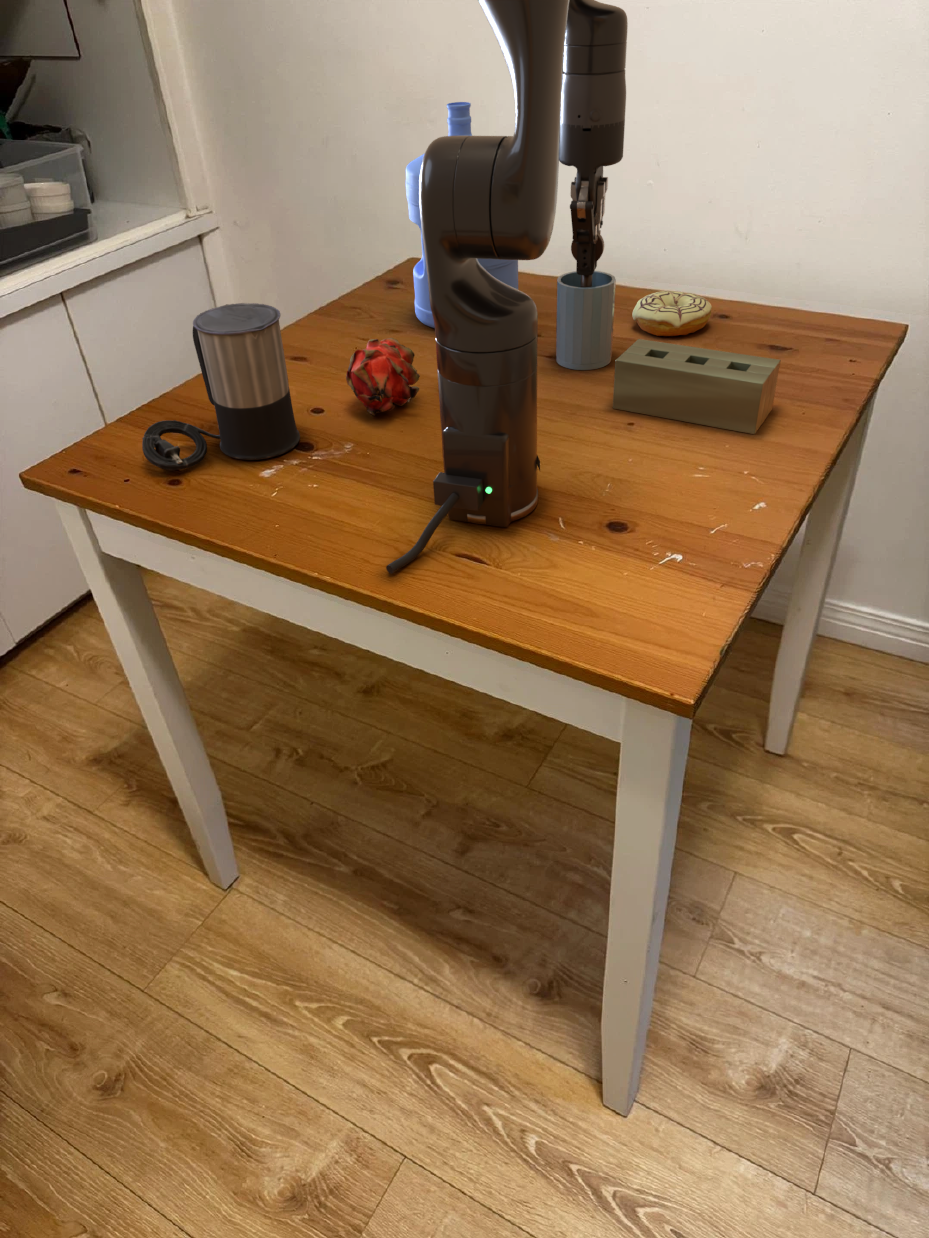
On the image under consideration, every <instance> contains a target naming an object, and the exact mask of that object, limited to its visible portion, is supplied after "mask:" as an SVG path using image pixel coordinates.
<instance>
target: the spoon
mask: <svg viewBox="0 0 929 1238" xmlns="http://www.w3.org/2000/svg"><path fill="white" fill-rule="evenodd" d="M582 231H588V230H587V229H584V230H582ZM588 232H589V231H588ZM604 250H605V241H604V237H603V236H602V234H599V233H598V232H597V241H596V252H595V262H596V261H597V262H598V261H599V260H600V259H601V257H602V255H603V253H604ZM570 251H571V255H572V257H573V259H574V260H575V261H576V262H577V244H576V242H573V240H572V241H571V245H570ZM581 287H592V275H581Z"/></svg>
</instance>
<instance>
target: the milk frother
mask: <svg viewBox="0 0 929 1238" xmlns="http://www.w3.org/2000/svg"><path fill="white" fill-rule="evenodd" d="M280 311H281V310H279V309H278V308H276V307H274V306H272V305H269V304H265V303H257V302H241V303H230V304H224V305H221V306H217V307H216V306H215V307H211V308H209V309H207V310H205V311H203V312H201V313H199V314H197V315H196V316H195V317H194V319H193V321H192V339H193V340H192V341H193V345H194V348H195V352H196V356H197V359H198V364H199V368H200V371H201V374H202V380H203V383H204V386H205V389H206V393H207V397H208V401H209V403H210V404H211V405H212V406H214V410H215V415H216V421H217V426H218V433H219V434H214V433H210V432H208V431H206V430H204V429H203V428H199V427H197V426H196V425H193V424H190V423H186V422H183V421H180V420H176V419H173V420H172V419H171V420H170V419H169V420H166V419H165V420H161V421H160V420H159V421H157V422H155V423H152V424H151V425H150V426H148V428H147V429H146V431H145V432H144V434H143V437H142V438H141V439H142V440H141V441H142V443H141V446H142V447H141V448H142V454H143V456H144V457H145V459H146V460H147V462H149V463H150V464H152V465H153V466H155V467H156V468H159V469H162V470H168V471H179V470H180V471H181V470H186V469H190V468H192V467H194V466H197V465H198V464H201V463H202V462H203V461H204V459H205V458H206V456H207V453H208V444H207V441H206V439H205V437H204V436H207V437H210V438H212V439H217V440H220V442H219V448H220V451H221V452H222V454H224V455H225V456H228V457H230V458H233V459H236V460H237V459H238V460H245V461H246V460H247V461H258V460H265V459H269V458H274V457H277V456H280V455H283V454H286V453H287V452H289V451H291V450H293V449H294V448H295V447H296V446H297V445H298V444H299V443H300V439H301V435H300V431H299V429H298V428H297V424H296V419H295V414H294V408H293V403H292V396H291V391H290V384H289V377H288V376H289V375H288V369H287V364H286V355H285V350H284V343H283V338H282V332H281V325H280V318H281V315H282V313H281V312H280ZM171 433H172V434H181V435H183V436H186V437H188V438H189V439H191V440H192V441H193V442H194V444H195V450H194V452H193V453H192V454H190V455H189V456H187V457H184V458H181V456H180V455H181V453H180V452H181V448H180V446H178V445H176V446H175V445H174V444H172V443H171V442H169V441H167V440H166V439H162V436H163V435H164V434H171ZM203 435H204V436H203Z"/></svg>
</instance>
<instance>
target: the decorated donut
mask: <svg viewBox="0 0 929 1238" xmlns="http://www.w3.org/2000/svg"><path fill="white" fill-rule="evenodd" d="M712 309H713V306H712V304H711V303H710V301H709V299H706V298H705V297H703V296H701V295H699V294H696V293H693V292H685V291H677V290H661V291H657V292H652V293H649V294H647V295H645V296H644V297H642V298H640V299H639V300H638V301H637V302H636V304H635V306H634V308H633V310H632V313H631V314H632V319H633V321H634V322H636V323H637V325H638V326H639V327H640V329H641V330H642V331H644V332H646V333H648V334H651V335H653V336H656V337H662V336H663V337H677V336H687V335H689V334H694V333H695V332H697V331H700V330H702V329H703V328H705V326H706V325H707V323H708V322H709V319H710V318H711V316H712Z"/></svg>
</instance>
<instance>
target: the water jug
mask: <svg viewBox="0 0 929 1238" xmlns="http://www.w3.org/2000/svg"><path fill="white" fill-rule="evenodd" d="M471 107H472V103H471V102H469V101H456V102H455V101H454V102H449V103H447V104H446V108H447V112H448V115H447V116H448V117H447V119H446V121H447V122H446V123H447V127H448V135H447V136H473V133H472V116H471V109H470V108H471ZM424 154H425V152H423V154H421V155H419V156H417V157H416V158H414V159H413V160H411V161H410V162H409V163H408V164H407V165H406V167H405V195H406V200H407V208H408V219H409V220H410V221H411V222H412V223H413V224H415V225H417V227H418V229H419V231H420V242H421V255H422V256H421V259H420V260H419V261H418V262H417V263H416V264H415V265H414V267H413V270H412V271H413V272H412V275H413V276H412V277H413V287H414V289H413V290H414V312H415V316H416V318H417V319H418V321H419V322H421V323H422V324H423V325H425V326H427V327H430V328H432V329H435V325H434V319H433V315H432V311H431V306H430V298H429V287H428V276H427V267H426V258H425V250H424V243H423V235H422V227H421V217H420V207H419V179H420V170H421V164H422V161H423V157H424ZM477 260H478V262H479V263H480V265H481V266H482V267H483V268H484V269H485V270H486V271H487V272H488V273H490V274H491V275H492V276H493V277H495V278H496V279H498V280H499V281H501V282H503V283H505V284H507V285H509V286H511V287H513V288H515V289H517V290H519V260H503V259H501V260H500V259H478V258H477Z"/></svg>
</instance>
